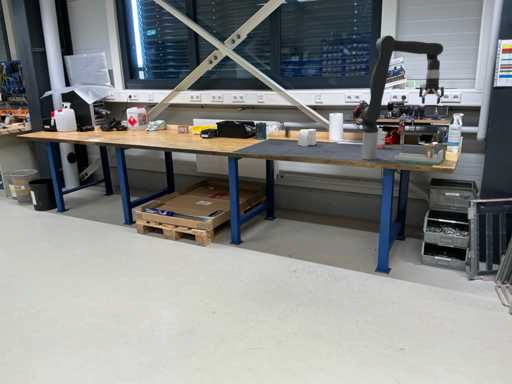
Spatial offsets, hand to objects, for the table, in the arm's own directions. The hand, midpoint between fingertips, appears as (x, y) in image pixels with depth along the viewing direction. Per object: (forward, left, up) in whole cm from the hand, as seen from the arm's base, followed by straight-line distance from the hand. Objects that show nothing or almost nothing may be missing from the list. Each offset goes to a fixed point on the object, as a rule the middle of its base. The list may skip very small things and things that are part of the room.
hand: (430, 104), depth 259 cm
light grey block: (-92, +7, -33) cm, 98 cm away
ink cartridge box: (-38, +16, -33) cm, 53 cm away
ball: (+10, -22, -30) cm, 38 cm away
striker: (+11, -17, -31) cm, 37 cm away
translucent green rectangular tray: (0, -18, -33) cm, 38 cm away
